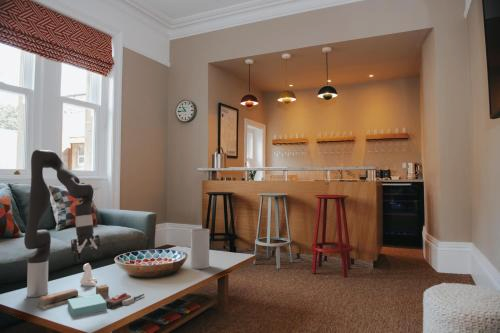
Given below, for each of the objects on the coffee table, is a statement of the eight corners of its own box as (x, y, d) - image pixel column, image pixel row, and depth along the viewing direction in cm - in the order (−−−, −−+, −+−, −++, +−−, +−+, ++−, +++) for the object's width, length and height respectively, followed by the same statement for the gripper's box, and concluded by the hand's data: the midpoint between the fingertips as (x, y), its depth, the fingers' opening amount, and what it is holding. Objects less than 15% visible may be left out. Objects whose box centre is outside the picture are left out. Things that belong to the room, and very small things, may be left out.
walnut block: (95, 295, 182) (96, 285, 182) (106, 293, 184) (106, 284, 185) (98, 298, 178) (98, 288, 178) (108, 296, 180) (108, 286, 181)
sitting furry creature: (95, 286, 196) (95, 264, 196) (78, 287, 193) (78, 266, 194) (97, 281, 205) (97, 260, 205) (81, 282, 202) (81, 261, 203)
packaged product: (45, 300, 162) (35, 295, 168) (44, 310, 162) (35, 305, 168) (83, 289, 177) (73, 286, 183) (82, 299, 177) (72, 295, 183)
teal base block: (67, 308, 165) (67, 299, 165) (99, 301, 174) (99, 293, 174) (72, 318, 154) (73, 308, 154) (106, 311, 162) (106, 302, 162)
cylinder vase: (187, 266, 239) (187, 229, 240) (202, 263, 247) (203, 228, 248) (196, 270, 230) (197, 232, 230) (212, 267, 238) (213, 230, 238)
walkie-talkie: (114, 311, 162) (145, 297, 180) (114, 301, 162) (145, 288, 180) (101, 307, 166) (132, 294, 184) (101, 298, 166) (133, 286, 184)
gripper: (91, 223, 177) (94, 256, 176) (65, 227, 164) (68, 262, 163) (102, 222, 174) (104, 255, 172) (76, 226, 161) (79, 262, 159)
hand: (87, 258), depth 167 cm, fingers open, 8 cm apart
